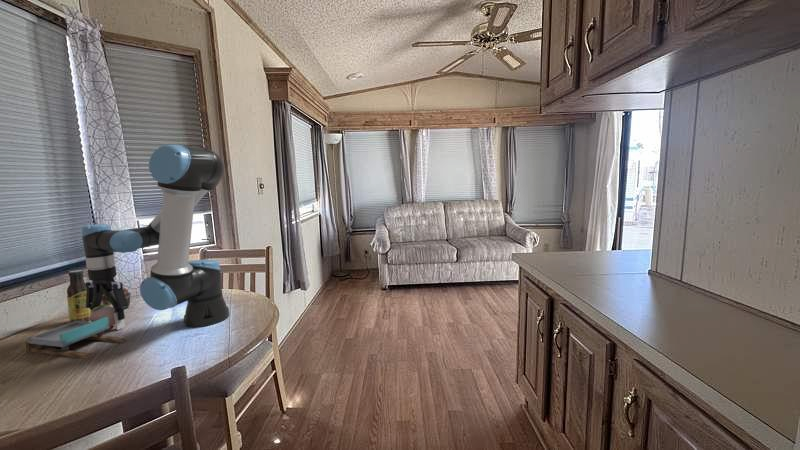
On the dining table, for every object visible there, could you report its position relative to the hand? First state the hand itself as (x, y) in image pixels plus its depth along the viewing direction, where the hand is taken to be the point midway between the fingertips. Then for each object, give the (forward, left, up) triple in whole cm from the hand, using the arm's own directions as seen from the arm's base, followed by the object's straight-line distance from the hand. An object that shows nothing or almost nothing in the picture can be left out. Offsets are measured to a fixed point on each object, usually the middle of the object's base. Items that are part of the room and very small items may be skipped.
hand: (110, 327), depth 120 cm
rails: (-5, +13, 0) cm, 14 cm away
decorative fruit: (0, 0, 0) cm, 0 cm away
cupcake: (+19, -17, 0) cm, 25 cm away
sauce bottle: (+18, -3, 0) cm, 18 cm away
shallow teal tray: (-2, +13, +1) cm, 13 cm away
